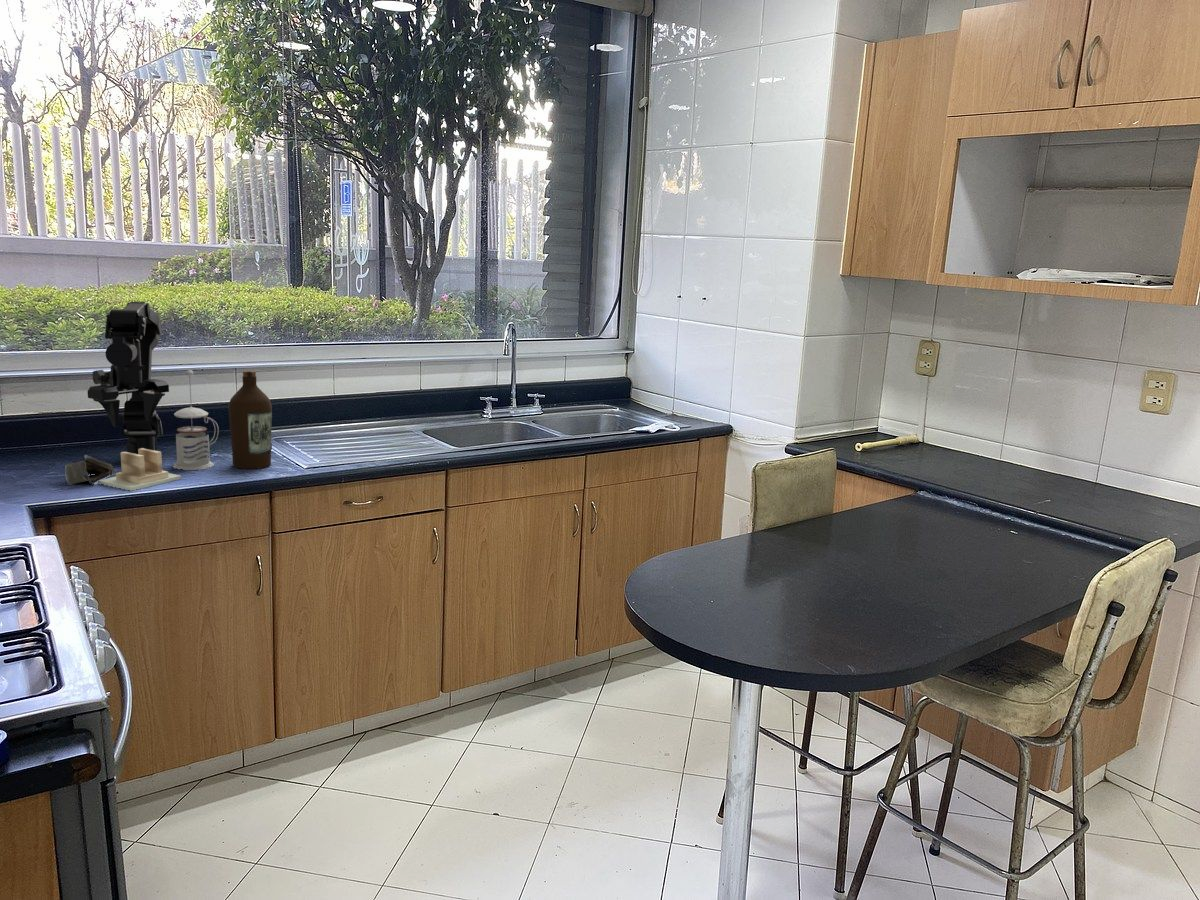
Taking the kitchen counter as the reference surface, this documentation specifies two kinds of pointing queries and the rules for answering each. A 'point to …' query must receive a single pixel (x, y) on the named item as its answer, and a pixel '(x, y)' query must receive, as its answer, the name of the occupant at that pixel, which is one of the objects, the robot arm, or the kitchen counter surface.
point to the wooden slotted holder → (141, 467)
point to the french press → (193, 439)
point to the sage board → (133, 486)
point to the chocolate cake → (87, 470)
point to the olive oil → (250, 425)
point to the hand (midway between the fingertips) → (131, 423)
